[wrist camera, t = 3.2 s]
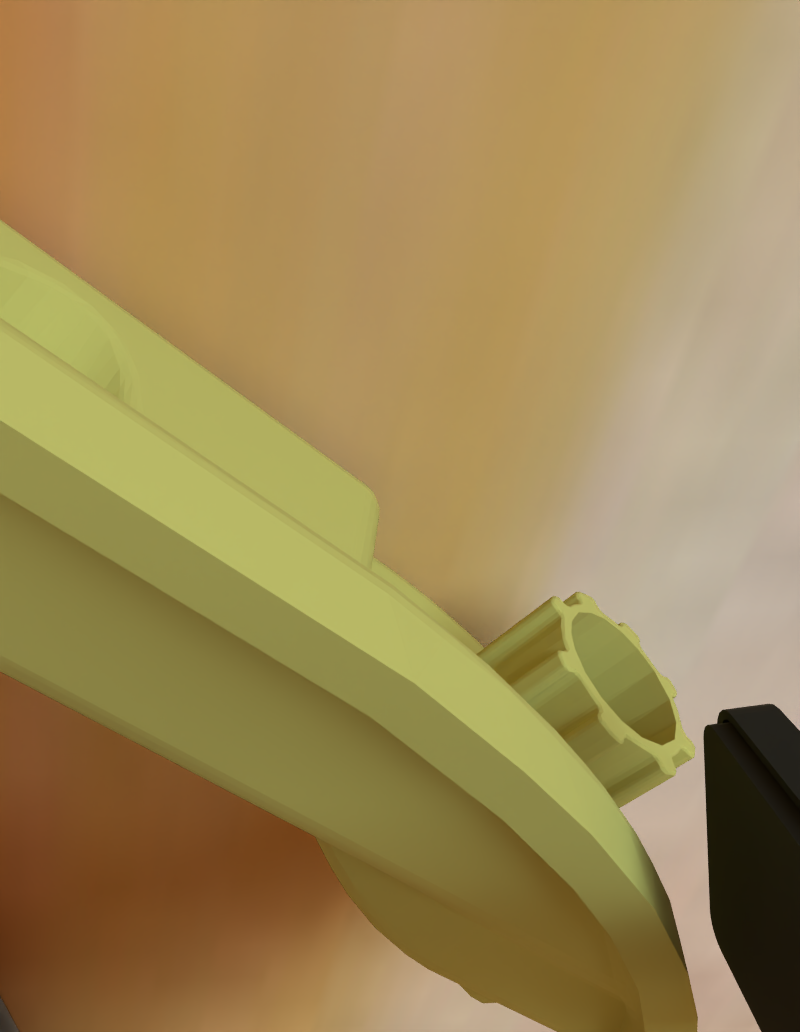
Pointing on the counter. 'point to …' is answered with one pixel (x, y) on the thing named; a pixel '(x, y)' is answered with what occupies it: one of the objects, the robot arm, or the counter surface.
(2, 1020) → the tray
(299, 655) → the plastic component
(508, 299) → the counter surface
